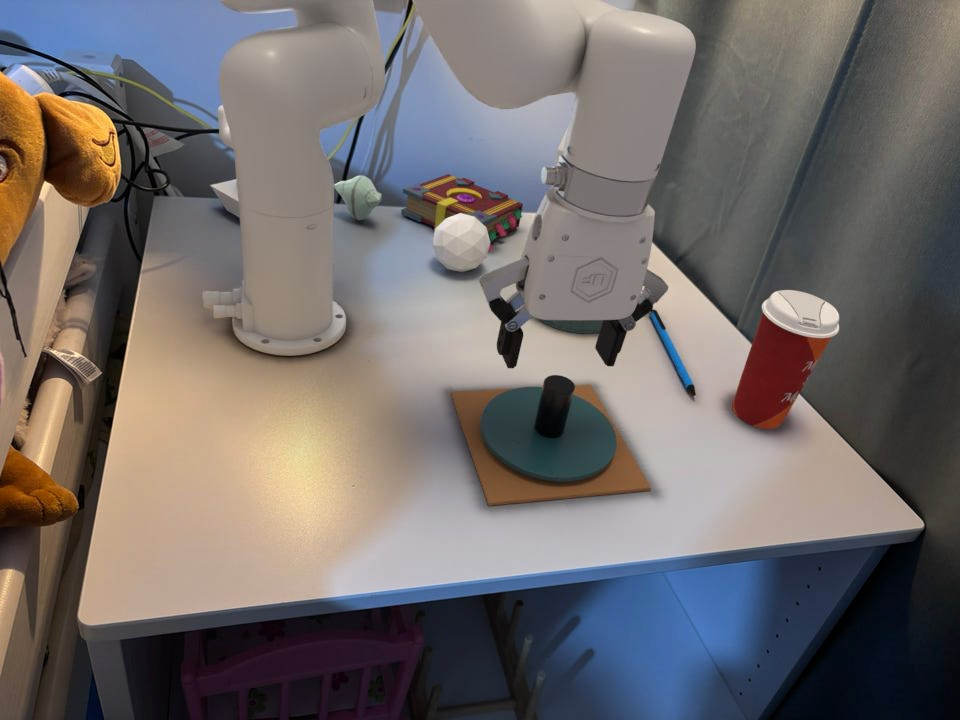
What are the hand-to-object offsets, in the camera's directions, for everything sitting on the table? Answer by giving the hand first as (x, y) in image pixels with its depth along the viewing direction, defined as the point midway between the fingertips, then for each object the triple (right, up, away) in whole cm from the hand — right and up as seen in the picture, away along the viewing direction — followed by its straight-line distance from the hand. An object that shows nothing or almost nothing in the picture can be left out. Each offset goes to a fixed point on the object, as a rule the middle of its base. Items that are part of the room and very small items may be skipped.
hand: (556, 358), depth 67 cm
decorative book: (-10, +21, +45) cm, 51 cm away
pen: (+16, +1, +22) cm, 27 cm away
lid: (0, -7, +5) cm, 9 cm away
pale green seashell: (-25, +21, +42) cm, 53 cm away
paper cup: (+24, -6, +14) cm, 28 cm away
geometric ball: (-10, +13, +33) cm, 37 cm away
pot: (+5, +7, +28) cm, 29 cm away
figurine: (-41, +21, +39) cm, 61 cm away
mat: (-1, -8, +5) cm, 10 cm away
